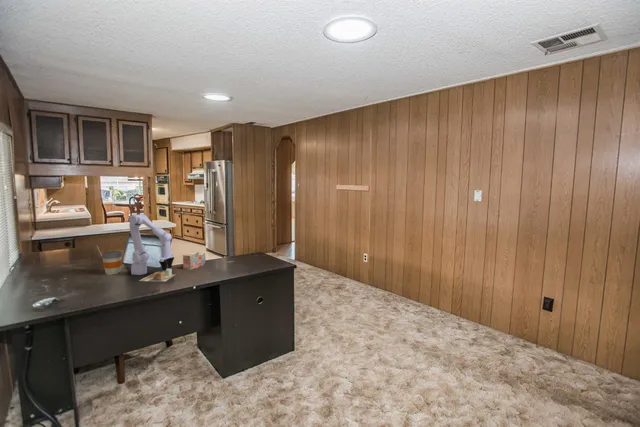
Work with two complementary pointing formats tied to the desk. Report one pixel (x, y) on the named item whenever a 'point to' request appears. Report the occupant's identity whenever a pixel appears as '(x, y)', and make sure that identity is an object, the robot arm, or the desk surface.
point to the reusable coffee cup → (112, 262)
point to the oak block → (159, 276)
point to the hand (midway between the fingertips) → (167, 269)
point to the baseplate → (150, 278)
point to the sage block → (168, 272)
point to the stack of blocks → (193, 260)
